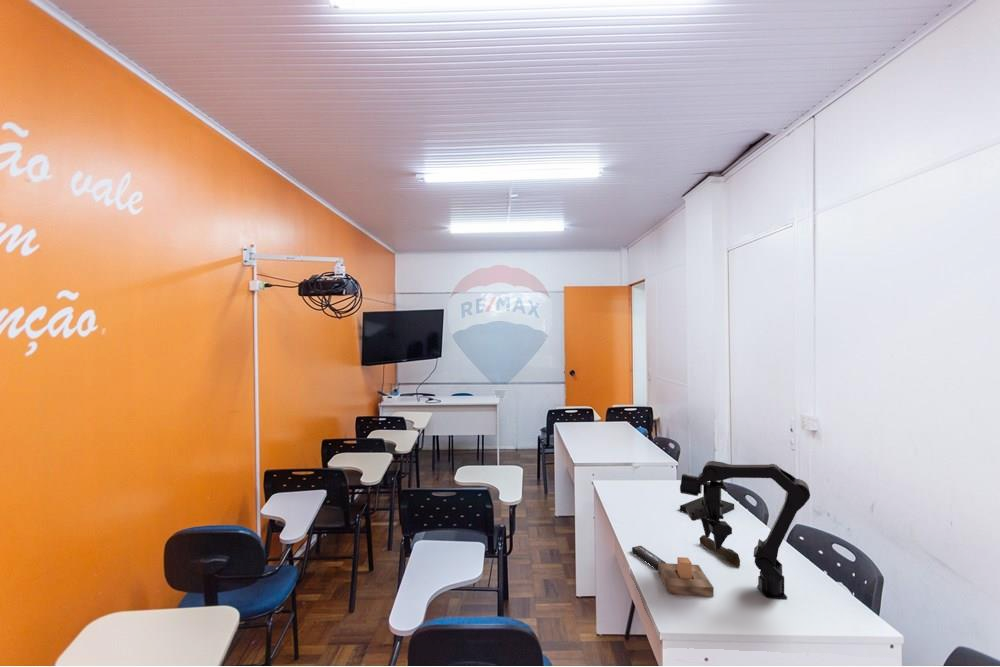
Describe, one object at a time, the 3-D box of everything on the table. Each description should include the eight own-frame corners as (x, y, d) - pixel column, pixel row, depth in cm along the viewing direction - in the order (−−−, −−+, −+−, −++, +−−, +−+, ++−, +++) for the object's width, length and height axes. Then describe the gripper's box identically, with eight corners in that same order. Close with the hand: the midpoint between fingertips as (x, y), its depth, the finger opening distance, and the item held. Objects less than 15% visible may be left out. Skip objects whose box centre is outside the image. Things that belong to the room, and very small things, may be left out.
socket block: (698, 573, 158) (698, 564, 158) (713, 596, 144) (713, 587, 144) (658, 571, 159) (658, 562, 159) (669, 594, 145) (669, 585, 145)
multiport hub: (657, 571, 159) (657, 565, 159) (631, 553, 173) (631, 547, 173) (666, 569, 161) (666, 563, 161) (640, 551, 175) (640, 545, 175)
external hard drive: (680, 511, 213) (679, 505, 213) (706, 500, 226) (706, 495, 226) (708, 521, 201) (708, 515, 201) (734, 510, 214) (734, 503, 214)
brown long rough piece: (698, 544, 179) (698, 533, 179) (707, 543, 180) (707, 532, 180) (733, 569, 161) (733, 556, 161) (742, 568, 162) (742, 555, 162)
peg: (688, 580, 153) (688, 557, 153) (691, 586, 149) (691, 563, 149) (677, 580, 153) (677, 557, 153) (680, 586, 150) (680, 562, 150)
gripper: (680, 488, 165) (680, 530, 165) (697, 508, 147) (697, 555, 147) (711, 489, 164) (711, 531, 164) (732, 509, 146) (732, 556, 146)
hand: (712, 542), depth 155 cm, fingers open, 9 cm apart
